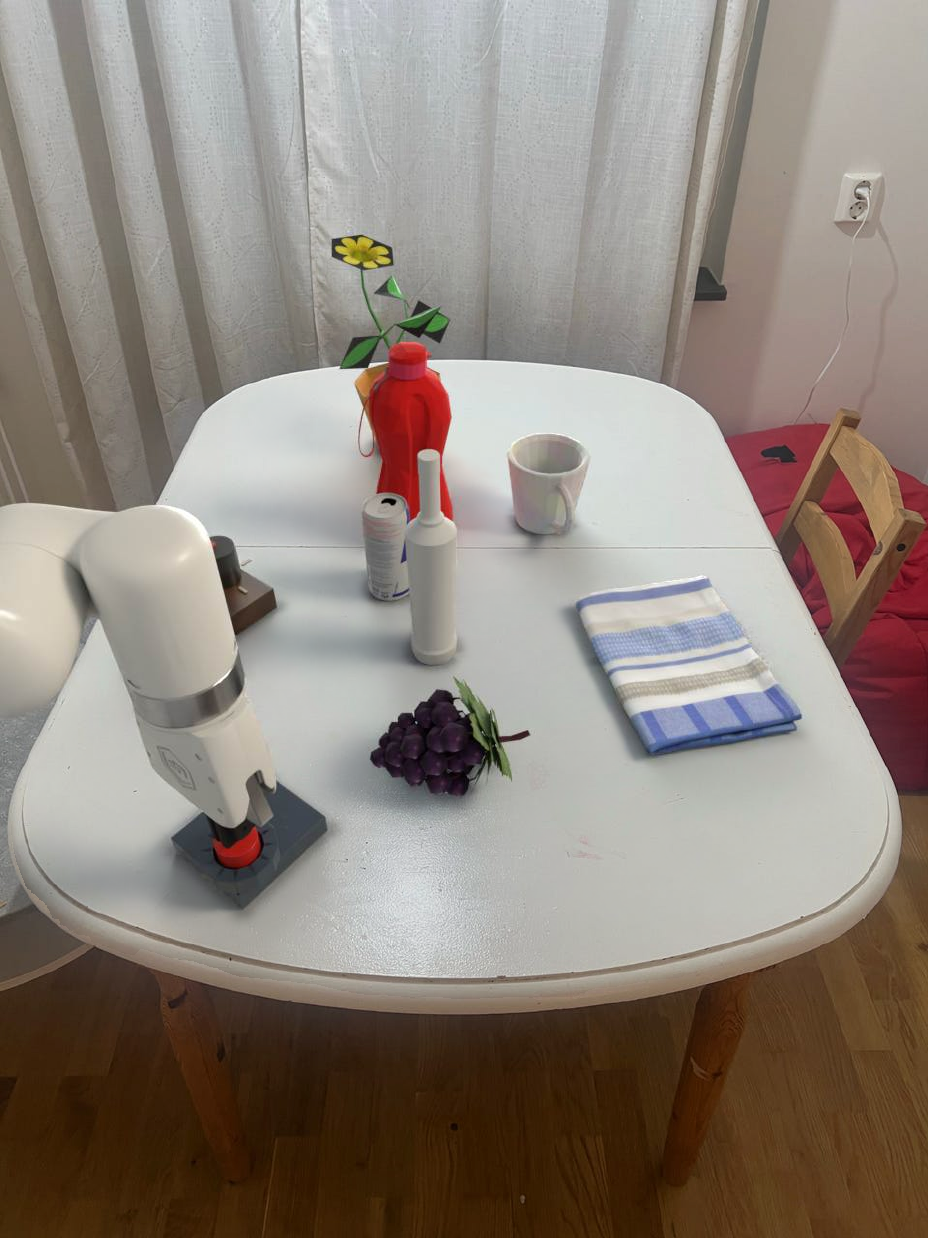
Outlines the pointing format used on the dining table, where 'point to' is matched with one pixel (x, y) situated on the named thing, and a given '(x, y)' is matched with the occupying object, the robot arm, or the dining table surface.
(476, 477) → the dining table surface
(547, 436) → the mug
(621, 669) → the dish towel
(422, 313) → the potted plant
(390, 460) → the water bottle
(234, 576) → the dial
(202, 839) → the button box
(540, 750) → the dining table surface
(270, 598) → the console
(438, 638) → the bottle
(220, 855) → the plunger
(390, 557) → the energy drink
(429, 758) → the fruit
